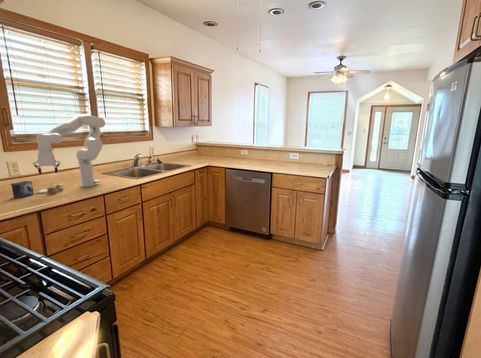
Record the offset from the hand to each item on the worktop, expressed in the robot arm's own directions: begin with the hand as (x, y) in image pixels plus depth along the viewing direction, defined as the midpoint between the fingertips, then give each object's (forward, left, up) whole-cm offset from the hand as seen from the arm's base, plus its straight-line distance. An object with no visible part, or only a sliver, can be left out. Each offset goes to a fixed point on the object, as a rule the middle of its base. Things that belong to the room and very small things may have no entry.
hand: (48, 173), depth 196 cm
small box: (+18, -2, -17) cm, 24 cm away
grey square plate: (+6, -9, -16) cm, 19 cm away
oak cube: (-3, -9, -16) cm, 19 cm away
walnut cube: (0, 0, -16) cm, 16 cm away
